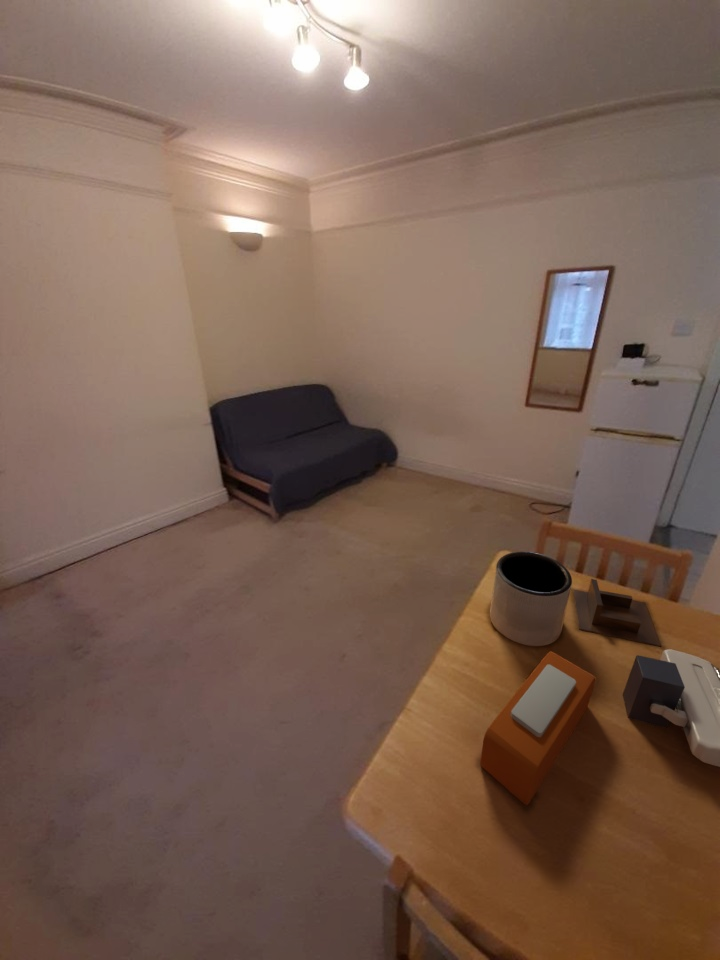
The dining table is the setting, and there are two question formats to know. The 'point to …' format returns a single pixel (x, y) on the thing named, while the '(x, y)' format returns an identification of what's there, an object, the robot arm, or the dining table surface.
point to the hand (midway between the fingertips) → (645, 689)
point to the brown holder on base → (614, 615)
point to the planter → (530, 598)
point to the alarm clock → (536, 725)
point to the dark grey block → (652, 689)
